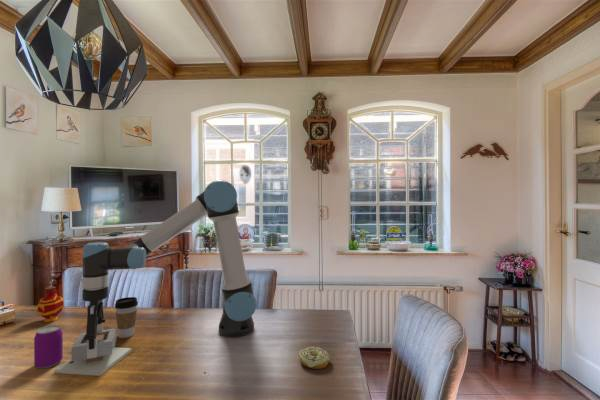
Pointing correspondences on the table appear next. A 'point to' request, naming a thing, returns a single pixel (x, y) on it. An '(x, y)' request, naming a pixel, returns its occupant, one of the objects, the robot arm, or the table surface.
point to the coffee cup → (126, 316)
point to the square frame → (102, 346)
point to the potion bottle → (50, 305)
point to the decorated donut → (314, 357)
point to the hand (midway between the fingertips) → (95, 349)
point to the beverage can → (48, 346)
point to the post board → (94, 362)
